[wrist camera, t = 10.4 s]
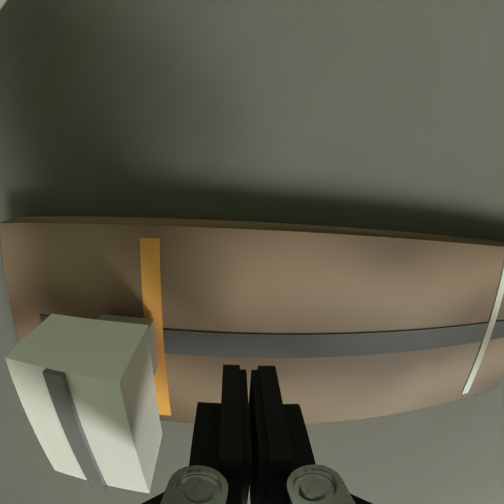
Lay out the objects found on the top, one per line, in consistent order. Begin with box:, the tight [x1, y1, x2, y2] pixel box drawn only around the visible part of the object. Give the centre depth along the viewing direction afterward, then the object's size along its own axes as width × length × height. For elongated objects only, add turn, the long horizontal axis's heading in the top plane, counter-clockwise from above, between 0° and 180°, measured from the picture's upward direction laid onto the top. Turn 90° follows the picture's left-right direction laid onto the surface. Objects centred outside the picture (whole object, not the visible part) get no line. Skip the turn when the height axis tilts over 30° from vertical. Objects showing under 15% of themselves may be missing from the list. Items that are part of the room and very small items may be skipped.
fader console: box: [0, 216, 504, 424], centre depth 14 cm, size 10×30×2 cm, turn 87°
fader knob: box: [5, 314, 162, 493], centre depth 10 cm, size 5×4×6 cm
